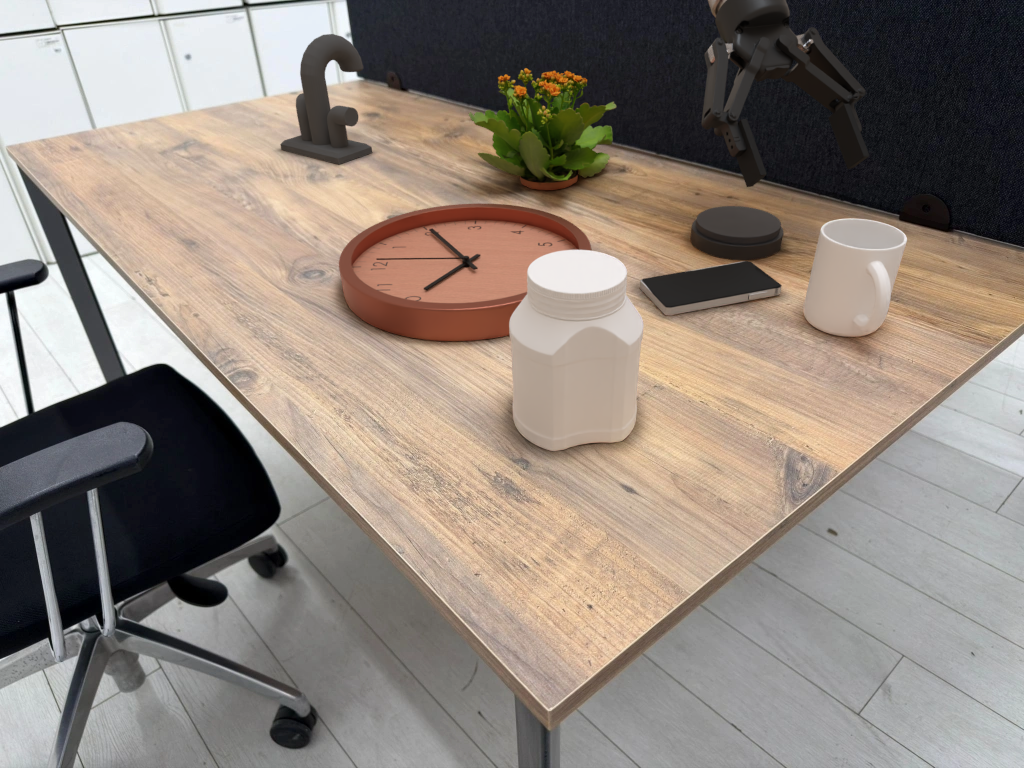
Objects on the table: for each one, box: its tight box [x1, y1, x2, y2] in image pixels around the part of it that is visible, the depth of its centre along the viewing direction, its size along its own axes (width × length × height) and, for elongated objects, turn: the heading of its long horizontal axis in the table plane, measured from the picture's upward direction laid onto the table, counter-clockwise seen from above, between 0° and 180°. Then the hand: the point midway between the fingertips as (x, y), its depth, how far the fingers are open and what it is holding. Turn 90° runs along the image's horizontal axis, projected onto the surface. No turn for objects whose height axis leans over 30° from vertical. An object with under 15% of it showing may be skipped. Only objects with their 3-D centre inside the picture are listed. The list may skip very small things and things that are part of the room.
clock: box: [338, 202, 592, 342], centre depth 91 cm, size 31×4×31 cm
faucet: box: [279, 33, 373, 165], centre depth 136 cm, size 18×16×20 cm
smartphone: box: [639, 260, 783, 316], centre depth 87 cm, size 8×1×15 cm
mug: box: [802, 217, 908, 338], centre depth 76 cm, size 12×8×10 cm
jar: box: [509, 250, 645, 452], centre depth 64 cm, size 12×10×15 cm
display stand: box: [689, 205, 784, 261], centre depth 98 cm, size 12×12×3 cm
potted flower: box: [468, 67, 617, 191], centre depth 116 cm, size 25×24×18 cm
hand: (808, 171), depth 79 cm, fingers open, 13 cm apart
